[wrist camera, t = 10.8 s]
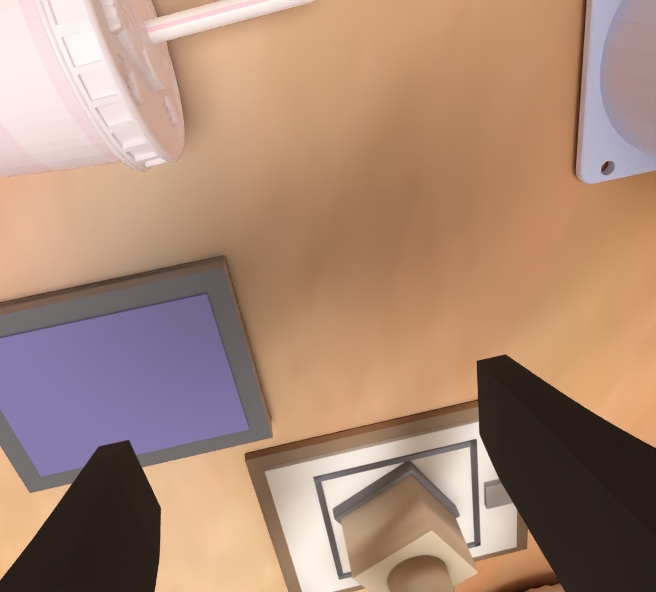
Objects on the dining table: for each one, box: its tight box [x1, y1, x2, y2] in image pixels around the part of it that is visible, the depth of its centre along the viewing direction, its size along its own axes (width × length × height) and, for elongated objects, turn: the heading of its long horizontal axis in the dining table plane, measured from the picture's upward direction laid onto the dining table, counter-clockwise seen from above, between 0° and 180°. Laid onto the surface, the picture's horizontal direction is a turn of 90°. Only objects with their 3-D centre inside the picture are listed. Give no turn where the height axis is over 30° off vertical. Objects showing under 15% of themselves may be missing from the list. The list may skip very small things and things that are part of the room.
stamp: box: [333, 461, 478, 592], centre depth 25 cm, size 4×4×5 cm
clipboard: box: [245, 400, 528, 592], centre depth 27 cm, size 14×11×1 cm
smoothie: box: [0, 0, 315, 178], centre depth 14 cm, size 6×6×14 cm
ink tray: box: [0, 256, 273, 493], centre depth 21 cm, size 10×8×1 cm
